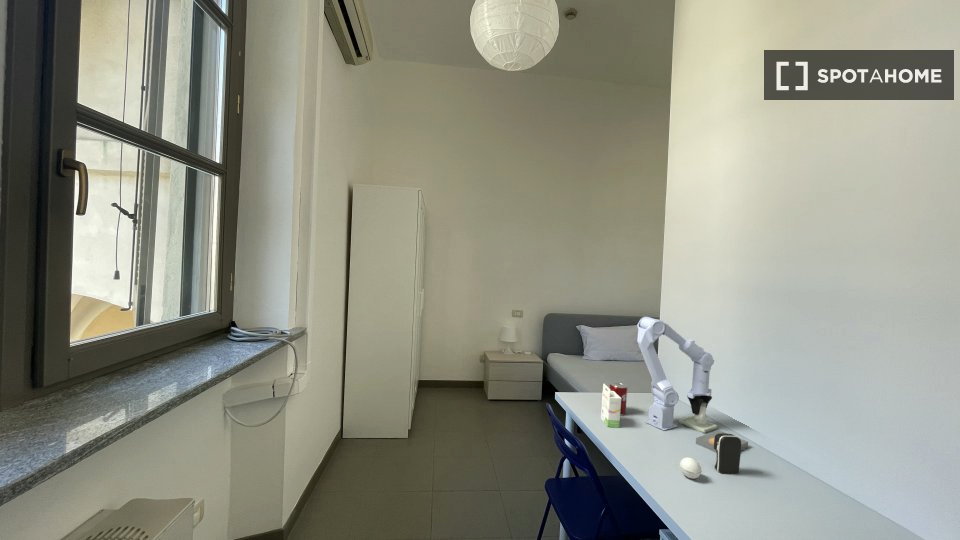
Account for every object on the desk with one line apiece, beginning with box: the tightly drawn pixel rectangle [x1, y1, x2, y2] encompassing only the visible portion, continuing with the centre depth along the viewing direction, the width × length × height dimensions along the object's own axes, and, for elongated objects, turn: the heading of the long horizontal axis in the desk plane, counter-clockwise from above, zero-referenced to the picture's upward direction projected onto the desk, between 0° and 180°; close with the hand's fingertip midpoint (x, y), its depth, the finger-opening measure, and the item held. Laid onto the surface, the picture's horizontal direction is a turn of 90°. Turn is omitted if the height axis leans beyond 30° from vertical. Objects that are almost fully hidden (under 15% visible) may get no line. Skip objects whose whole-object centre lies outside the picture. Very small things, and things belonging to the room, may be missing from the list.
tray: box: [678, 415, 718, 435], centre depth 143 cm, size 10×10×2 cm
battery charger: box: [714, 432, 742, 474], centre depth 111 cm, size 7×4×11 cm, turn 94°
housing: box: [695, 429, 749, 453], centre depth 128 cm, size 16×10×2 cm, turn 121°
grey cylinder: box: [693, 402, 707, 424], centre depth 143 cm, size 4×4×8 cm
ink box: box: [600, 383, 621, 429], centre depth 141 cm, size 9×5×15 cm, turn 179°
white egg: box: [679, 456, 708, 479], centre depth 105 cm, size 8×6×6 cm
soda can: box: [608, 382, 628, 416], centre depth 152 cm, size 7×7×12 cm
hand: (698, 413), depth 143 cm, fingers closed on grey cylinder, 4 cm apart
